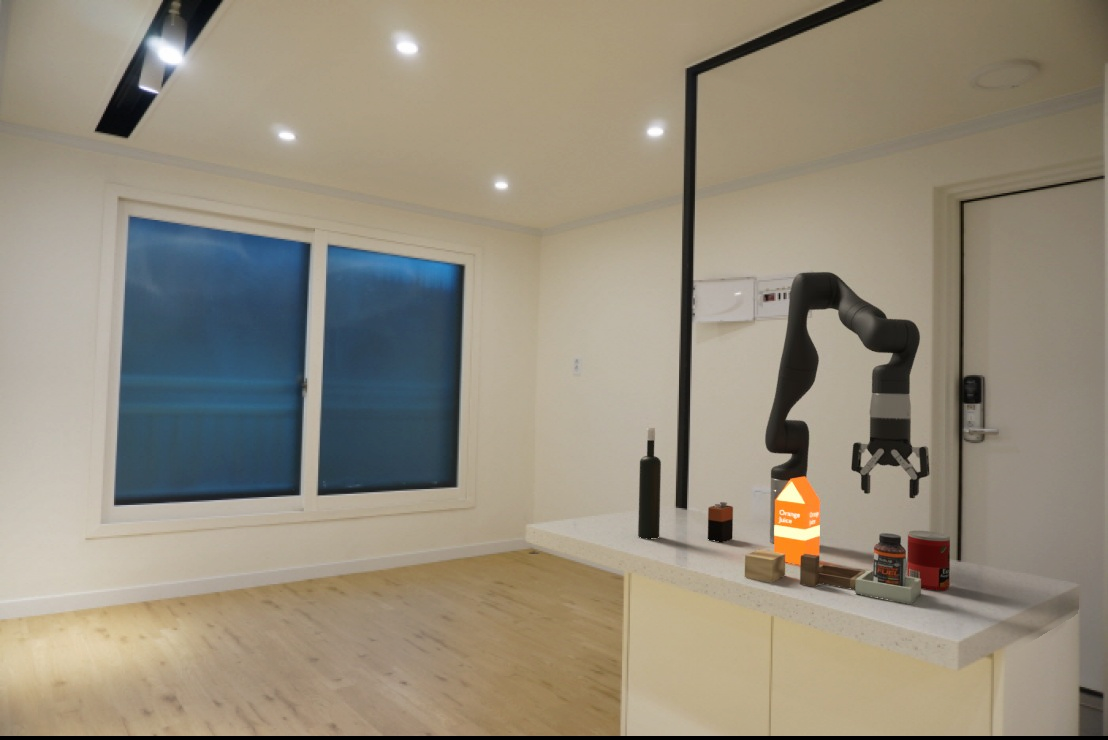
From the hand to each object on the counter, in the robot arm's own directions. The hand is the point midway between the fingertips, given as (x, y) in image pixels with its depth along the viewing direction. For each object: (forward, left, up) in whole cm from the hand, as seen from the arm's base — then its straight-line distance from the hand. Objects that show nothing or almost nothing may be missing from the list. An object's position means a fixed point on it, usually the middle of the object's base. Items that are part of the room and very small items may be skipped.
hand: (889, 495), depth 143 cm
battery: (-25, -48, -20) cm, 58 cm away
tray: (0, 0, -20) cm, 20 cm away
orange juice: (-16, -24, -20) cm, 35 cm away
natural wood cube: (+5, -24, -20) cm, 32 cm away
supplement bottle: (0, 0, -20) cm, 20 cm away
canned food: (-13, +5, -20) cm, 24 cm away
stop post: (+4, -14, -20) cm, 25 cm away
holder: (-3, -11, -20) cm, 23 cm away
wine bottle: (-14, -64, -20) cm, 68 cm away
